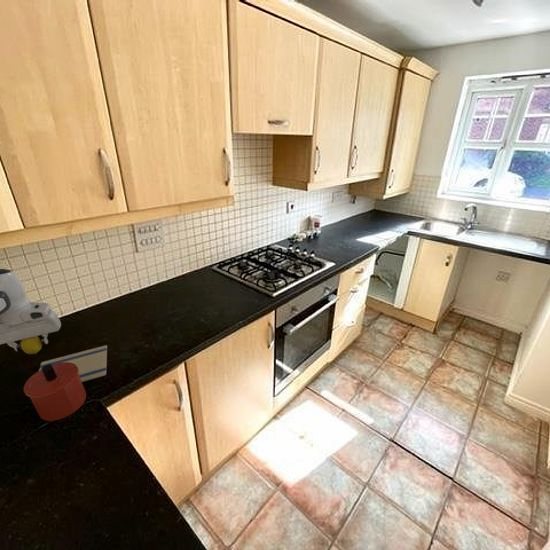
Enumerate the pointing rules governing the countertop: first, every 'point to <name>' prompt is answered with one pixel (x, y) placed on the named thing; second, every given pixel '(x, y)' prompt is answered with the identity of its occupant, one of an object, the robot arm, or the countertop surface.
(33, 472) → the countertop surface
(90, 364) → the towel
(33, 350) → the lemon
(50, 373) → the pot lid
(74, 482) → the countertop surface
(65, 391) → the pot
